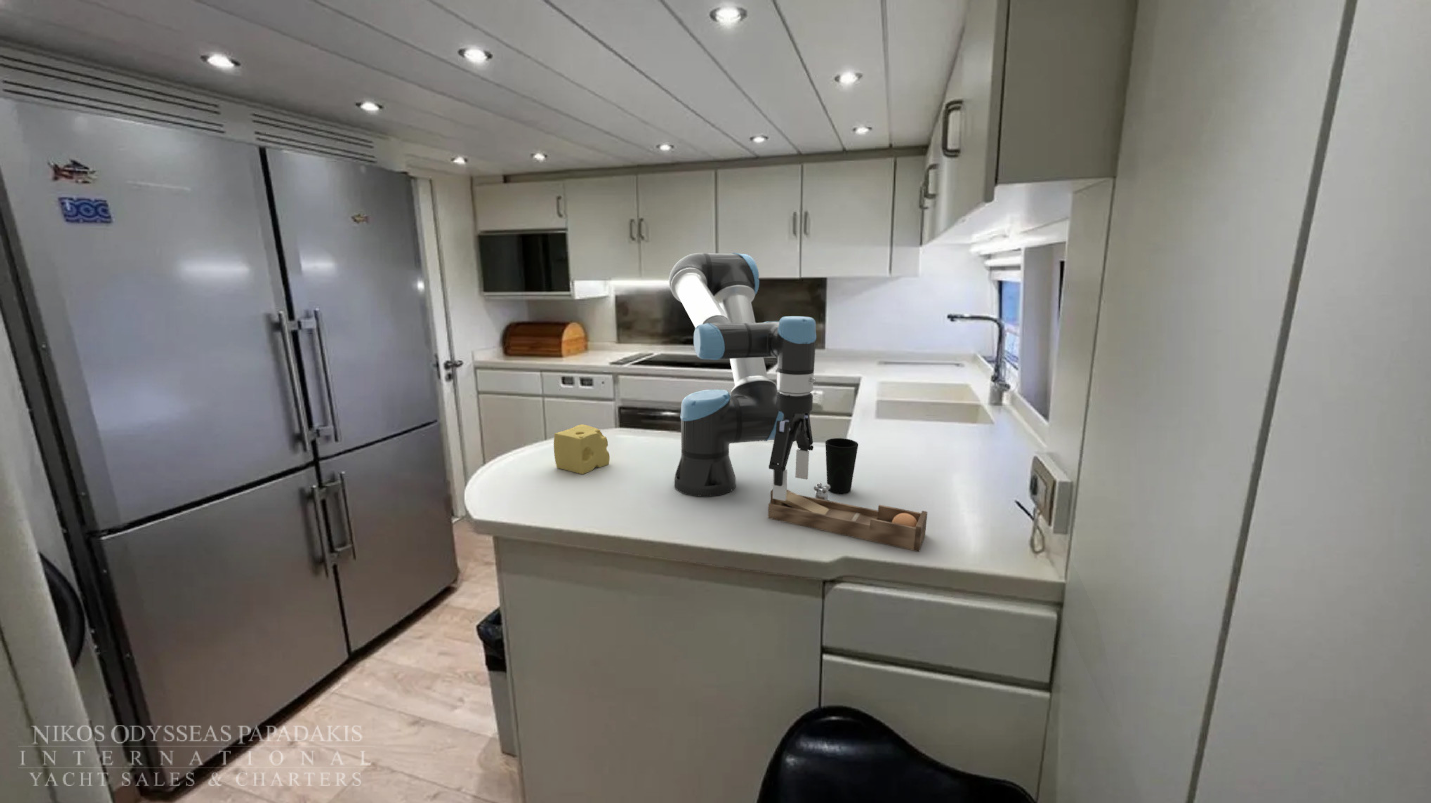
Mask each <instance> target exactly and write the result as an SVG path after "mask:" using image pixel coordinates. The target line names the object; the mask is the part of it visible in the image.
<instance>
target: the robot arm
mask: <svg viewBox="0 0 1431 803" xmlns="http://www.w3.org/2000/svg"><path fill="white" fill-rule="evenodd" d="M759 277H760V273H759V269H758V266H757V263H756V261H755V259H754V258H753V257H752V256H750V255H749V254H746V253H739V252H732V253H717V252H715V253H713V252H711V253H710V252H706V253H705V252H695V253H690V254H688V255H685V256H684V257H682V258H681V259H679V260H678V261H677V262H676V263H675V264H674V266H673V267H672V268H671V270H670V273H669V277H668V285H669V290H670V291H671V293H672V296H673V297H674V299H676V300H677V301H678V302H680V303H682V306H683V307H684V309H685V312H686V313H687V315H688V317H689V318H690V320H691V322H692V324H693V326H694V332H693V346H694V353H695V354H696V357H697V358H699V359H701V360H712V361H718V360H728V359H729V363H730V366H731V371H732V372H731V373H732V378H733V383H734V386H733V387H732V389H731V391H730V392H729V391H728V390H726V389H720V388H718V389H713V388H712V389H703V390H699V391H698V390H697V391H695V392H692V393H689V394H688V395H686V396H685V397H684V398H683V399H682V401H681V404H680V405H681V408H680V416H679V418H680V433H681V435H680V437H681V438H680V444H681V445H680V446H681V447H680V448H681V449H680V450H681V454H680V455H681V456H680V459H679V461H678V464H677V468H676V471H675V474H674V488H675V489H676V491H678V492H681V493H682V494H685V495H689V496H693V497H715V496H716V497H717V496H722V495H726V494H728V493H730V492H732V491H733V490H735V488H736V484H737V483H736V479H737V477H736V474H735V470H734V468H733V464H732V461H731V457H730V444H738V443H739V444H740V443H752V442H753V443H754V442H768V441H772V440H773V444H772V450H771V455H770V459H769V464H768V469H769V470H772V471H773V477H772V490H773V499H778V500H783V501H785V500H786V493H787V490H788V489H787V487H788V482H787V481H788V469H787V464H788V461H789V458H790V455H791V450H792V447H793V443H794V442H796V446H797V449H796V450H795V451H796V453H795V454H796V455H795V478H797V479H803V480H808V478H809V460H810V451H813V450H814V445H813V444H814V440H813V432H812V426H811V418H810V414H811V412H812V411H813V402H814V395H813V394H812V392H813V391H814V383H816V381H817V379H816V378H815V377H814V376H815V375H814V374H815V361H816V359H815V358H816V357H815V356H816V345H817V344H816V343H817V342H816V341H817V331H816V330H817V329H816V328H817V326H816V325H817V323H816V320H815V319H814V318H813V317H810V316H802V315H801V316H799V315H797V316H796V315H791V316H789V315H788V316H782V317H781V318H780V319H779V321H778V320H774V321H773V320H769V321H764V322H756V318H755V314H754V309H753V305H752V302H754V299H755V297H756V295H757V293H758V290H759V287H760V279H759ZM765 358H776V359H777V367H776V382H774V381H773V380H771V379H769V377H768V372H767V368H766V364H765Z"/></svg>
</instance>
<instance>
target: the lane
mask: <svg viewBox="0 0 1431 803" xmlns="http://www.w3.org/2000/svg"><path fill="white" fill-rule="evenodd" d="M769 499H770V500H769V501H770V502H769V503H768V509H767V511H768V512H767V518H768V519H770V520H776V521H779V522H784V523H789V524H792V525H798V526H803V527H808V528H812V529H815V530H821V531H825V532H829V533H833V534H837V535H843V536H847V537H853V538H856V539H860V540H866V541H869V542H874V543H878V544H883V545H888V546H892V547H896V548H900V547H901V549H905V550H911V551H914V552H918V553H919V552H920V550H921V547H922V545H923V542H924V539H925V536H926V530H927V529H926V528H927V522H928V520H927V519H928V511H926V510H921V512H918V511H914V510H908V509H904V508H898V507H893V506H887V505H881V504H878V507H877V509H872V508H868V507H862V506H856V505H852V504H847V503H842V502H837V501H832V500H829V499H828V500H829V501H828V500H822V499H817V498H815V497H812V496H807V495H801V494H798V493H794V492H793V491H791V490H789V489H787V493H786V500H785V501H783V500H778V499H773V489H772V490H770V497H769ZM901 513H907V514H910V515H912V516H913V517H914V518H915V519H916V521H917V525H916V527H911V526H906V525H901V524H896V523H892V520H893V519H894V517H895V516H896V515H898V514H901Z"/></svg>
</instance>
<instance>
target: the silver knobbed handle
mask: <svg viewBox="0 0 1431 803" xmlns="http://www.w3.org/2000/svg"><path fill="white" fill-rule="evenodd" d="M828 489H830V485H829V484H827V483H826V484H825V486H823V485H822V483H821V482H817V483H816V485H814V486H813V490H814V491H815V495H814V498H817V499H822V500H828V501H830V500H829V491H828Z"/></svg>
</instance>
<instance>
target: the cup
mask: <svg viewBox="0 0 1431 803" xmlns="http://www.w3.org/2000/svg"><path fill="white" fill-rule="evenodd" d="M824 443H825V444H824V445H825V463H826V464H825V466H826V468H825V469H826V484H829V485H830V489H828V493H831V494H834V495H835V494H836V495H847V494H850V493H851V490H852V484H853V478H854V474H855V473H854V472H855V467H856V459H857V453H858V448H859V443H858V441H855V440H853V439H850V438H843V437H837V438H836V437H832V438H829V439H827V440H825V442H824Z"/></svg>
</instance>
